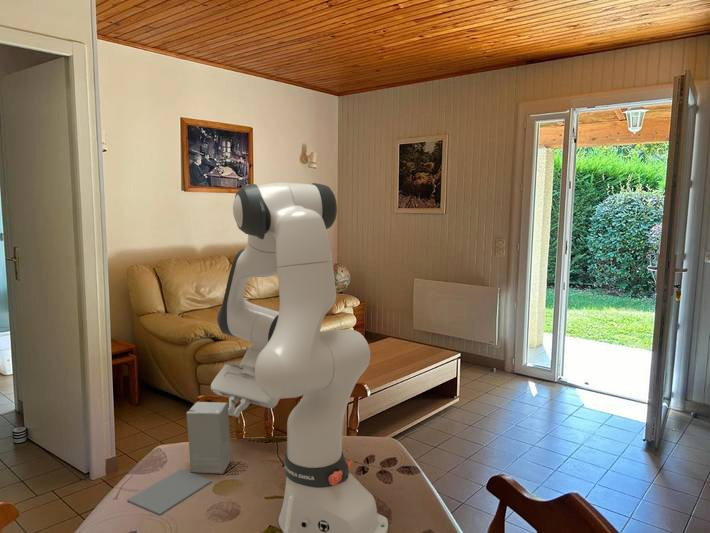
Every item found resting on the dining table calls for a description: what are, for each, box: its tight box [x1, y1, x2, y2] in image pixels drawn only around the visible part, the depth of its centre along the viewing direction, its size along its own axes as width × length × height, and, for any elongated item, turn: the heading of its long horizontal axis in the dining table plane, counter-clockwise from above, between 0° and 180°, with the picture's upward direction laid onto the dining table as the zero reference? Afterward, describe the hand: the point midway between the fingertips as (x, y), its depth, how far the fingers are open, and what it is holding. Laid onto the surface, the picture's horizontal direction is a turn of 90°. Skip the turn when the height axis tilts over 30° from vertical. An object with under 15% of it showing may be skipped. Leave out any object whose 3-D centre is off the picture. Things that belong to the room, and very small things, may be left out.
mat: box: [126, 468, 213, 516], centre depth 117 cm, size 10×15×1 cm, turn 151°
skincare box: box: [186, 401, 232, 474], centre depth 127 cm, size 8×7×16 cm
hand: (231, 415), depth 133 cm, fingers closed
